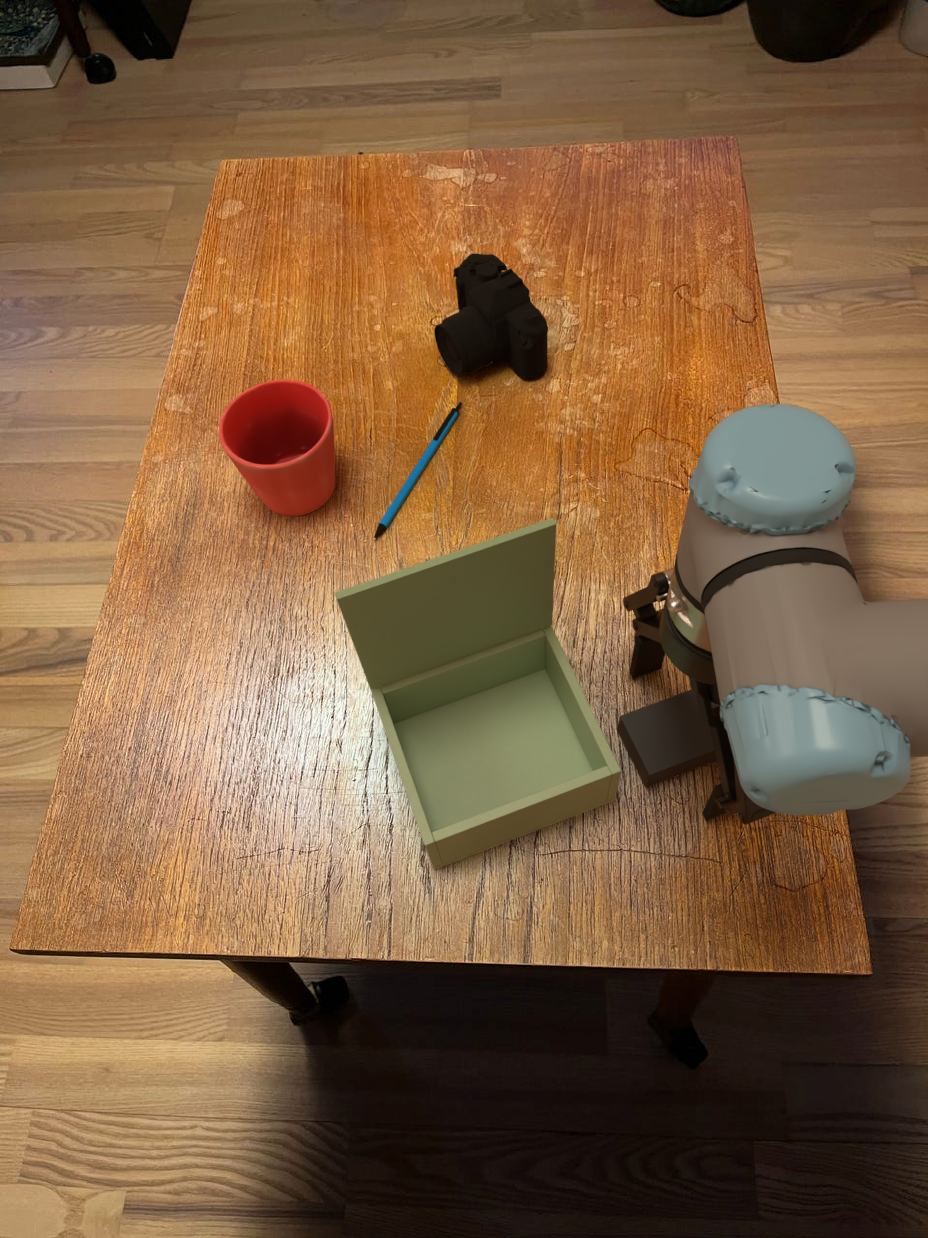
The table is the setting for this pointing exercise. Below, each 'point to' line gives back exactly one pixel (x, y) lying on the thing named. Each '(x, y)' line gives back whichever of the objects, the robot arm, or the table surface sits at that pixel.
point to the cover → (452, 604)
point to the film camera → (493, 322)
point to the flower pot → (282, 444)
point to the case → (496, 746)
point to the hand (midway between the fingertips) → (680, 738)
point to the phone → (667, 738)
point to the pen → (417, 471)
